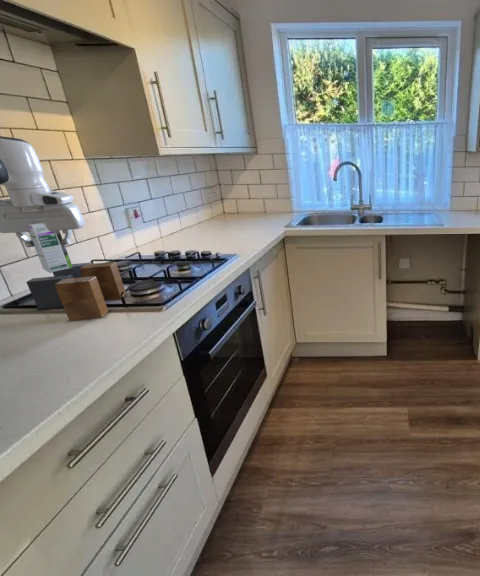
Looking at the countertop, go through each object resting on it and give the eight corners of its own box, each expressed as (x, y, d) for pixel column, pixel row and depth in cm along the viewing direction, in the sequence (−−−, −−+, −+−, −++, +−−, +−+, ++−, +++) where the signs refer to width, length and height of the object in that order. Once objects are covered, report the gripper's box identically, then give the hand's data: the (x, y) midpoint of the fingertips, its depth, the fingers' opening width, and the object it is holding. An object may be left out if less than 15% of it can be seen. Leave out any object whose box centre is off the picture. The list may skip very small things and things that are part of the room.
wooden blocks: (69, 321, 99) (54, 284, 95) (98, 296, 115) (86, 264, 110) (102, 317, 101) (88, 281, 97) (126, 294, 116) (115, 261, 112)
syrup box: (49, 273, 106) (31, 224, 101) (42, 269, 109) (24, 222, 104) (73, 268, 111) (56, 221, 105) (65, 264, 114) (49, 218, 108)
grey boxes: (38, 310, 106) (26, 281, 103) (66, 290, 120) (56, 265, 116) (77, 306, 109) (66, 278, 105) (100, 287, 122) (91, 262, 119)
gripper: (-22, 201, 97) (0, 251, 102) (67, 198, 101) (83, 245, 107) (-5, 198, 103) (15, 245, 108) (78, 195, 107) (93, 240, 112)
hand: (49, 245), depth 107 cm, fingers closed on syrup box, 8 cm apart
